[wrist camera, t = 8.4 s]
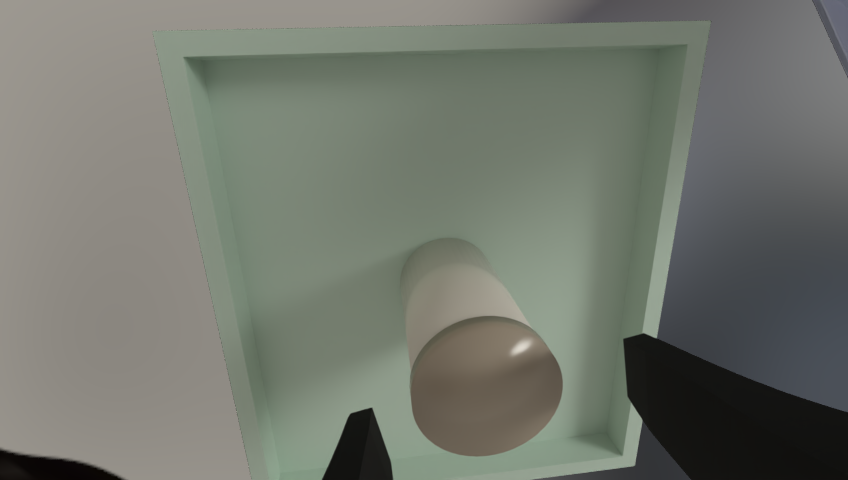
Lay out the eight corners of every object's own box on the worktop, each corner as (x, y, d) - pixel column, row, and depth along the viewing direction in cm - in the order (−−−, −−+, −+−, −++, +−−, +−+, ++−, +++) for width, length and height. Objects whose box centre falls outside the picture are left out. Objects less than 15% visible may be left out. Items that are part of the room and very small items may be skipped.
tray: (180, 39, 16) (152, 31, 14) (672, 28, 18) (711, 20, 16) (269, 478, 23) (259, 515, 21) (613, 435, 25) (634, 465, 23)
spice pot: (511, 284, 21) (589, 398, 13) (438, 340, 21) (472, 479, 14) (455, 215, 19) (507, 300, 12) (377, 277, 20) (379, 395, 12)
